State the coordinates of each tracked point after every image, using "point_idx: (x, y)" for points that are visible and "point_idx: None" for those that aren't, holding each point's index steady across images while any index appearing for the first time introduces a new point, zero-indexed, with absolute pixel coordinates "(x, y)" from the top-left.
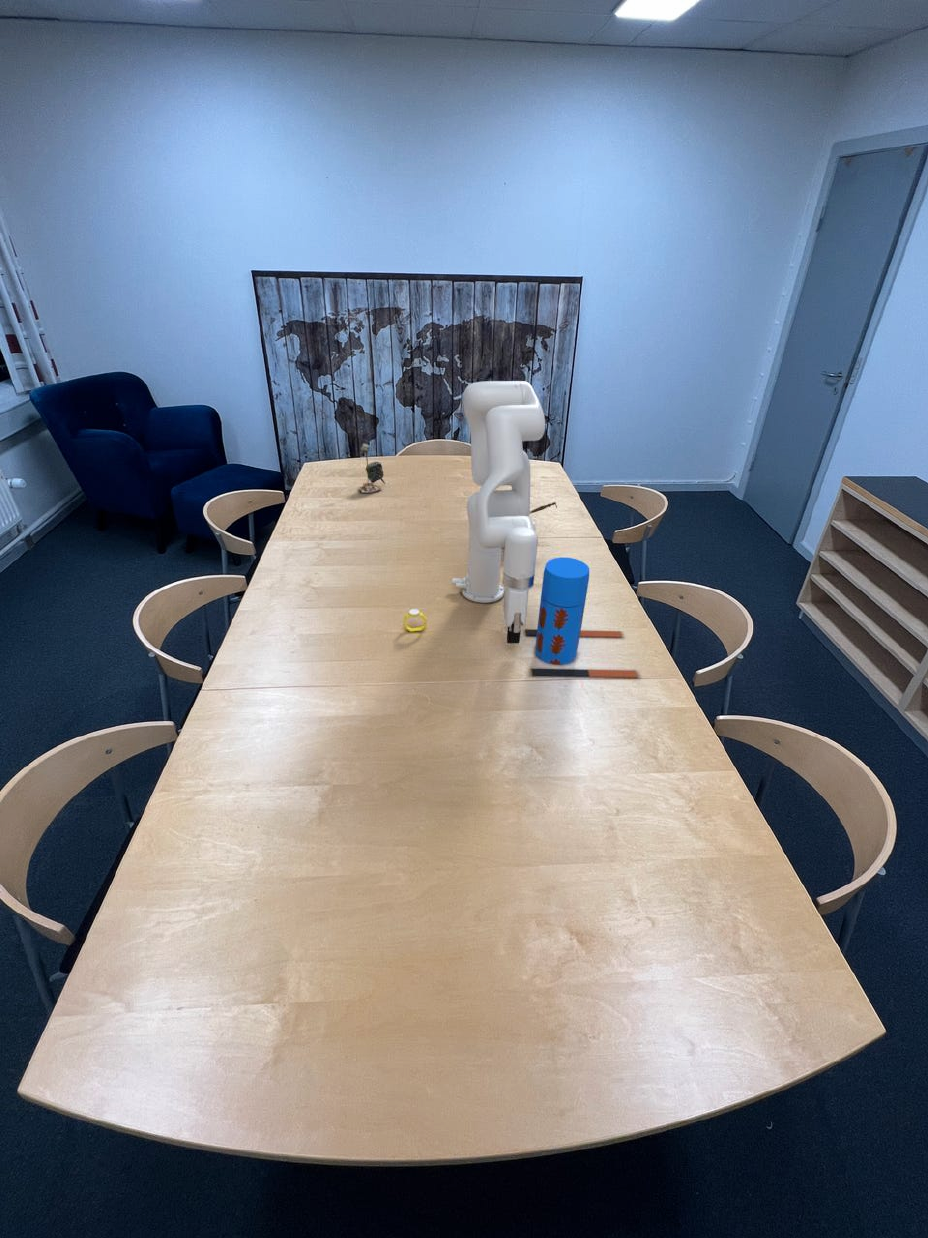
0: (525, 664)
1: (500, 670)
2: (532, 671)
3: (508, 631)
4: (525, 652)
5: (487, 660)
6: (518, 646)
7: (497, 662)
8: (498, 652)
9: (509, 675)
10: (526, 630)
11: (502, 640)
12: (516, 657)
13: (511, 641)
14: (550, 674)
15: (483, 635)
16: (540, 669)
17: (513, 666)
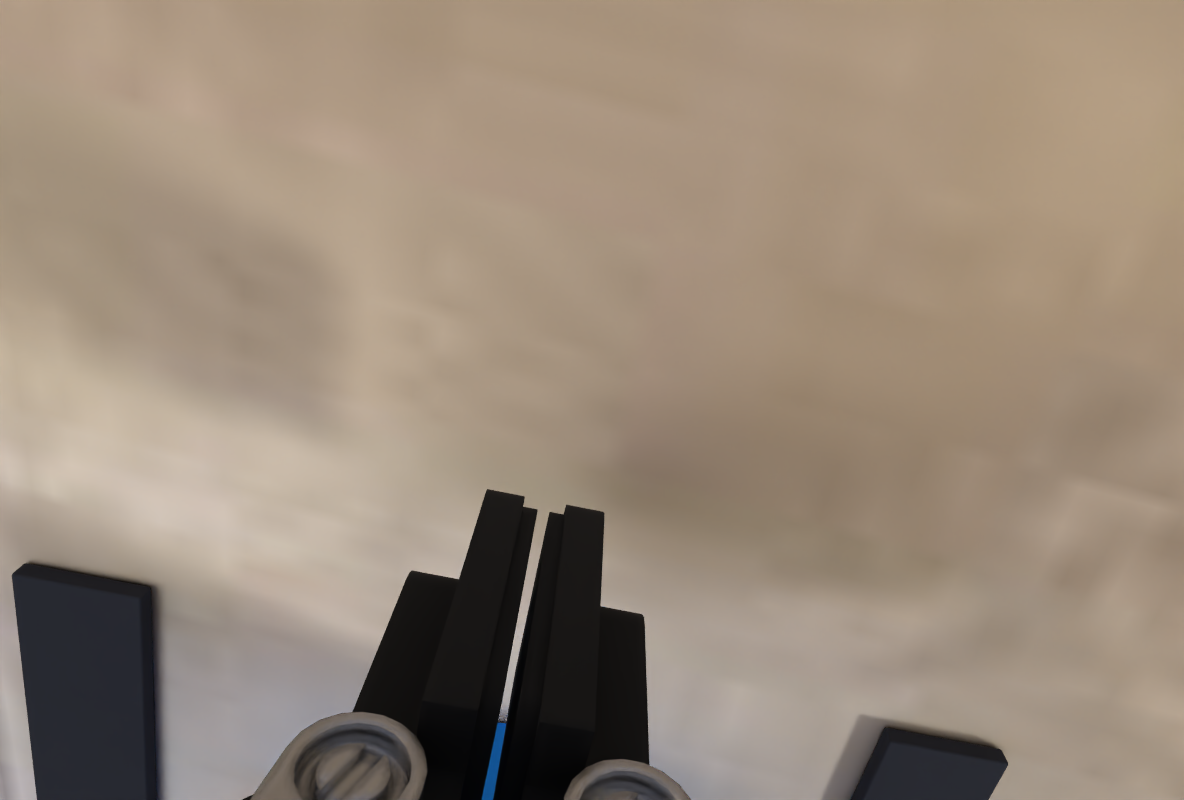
0: (266, 551)
1: (114, 187)
2: (79, 589)
3: (433, 677)
4: (525, 621)
5: (382, 34)
6: (674, 581)
7: (320, 194)
8: (582, 279)
9: (4, 288)
10: (978, 768)
11: (879, 420)
12: (427, 490)
13: (407, 577)
14: (41, 741)
15: (1136, 151)
16: (130, 679)
17: (220, 398)
